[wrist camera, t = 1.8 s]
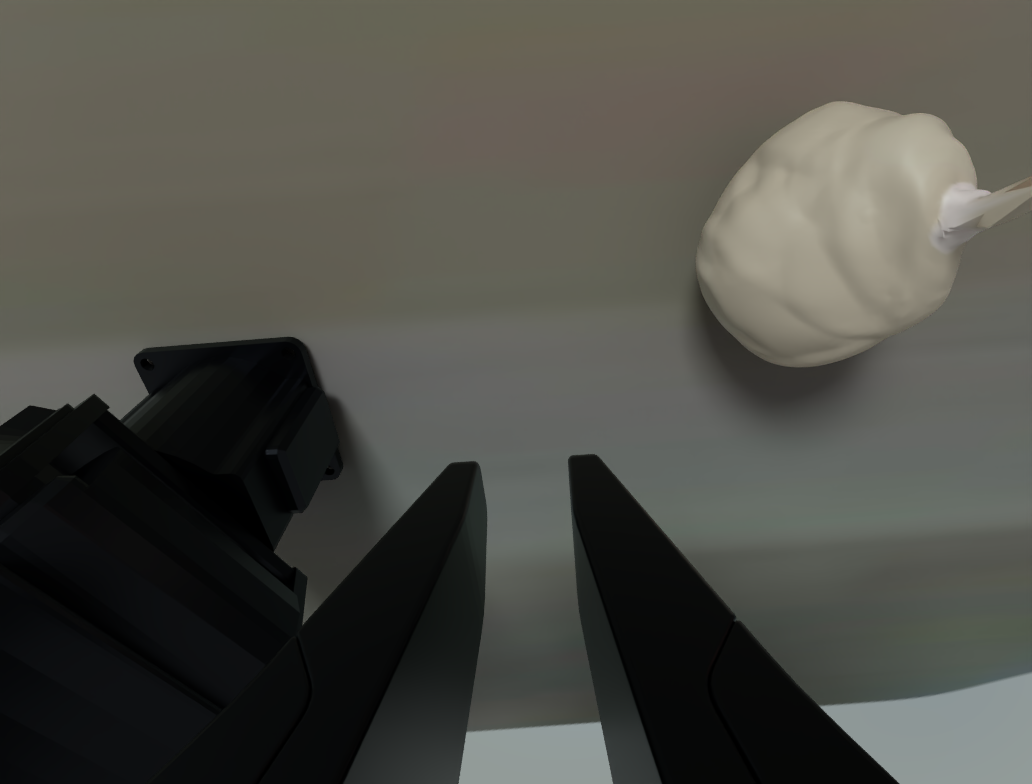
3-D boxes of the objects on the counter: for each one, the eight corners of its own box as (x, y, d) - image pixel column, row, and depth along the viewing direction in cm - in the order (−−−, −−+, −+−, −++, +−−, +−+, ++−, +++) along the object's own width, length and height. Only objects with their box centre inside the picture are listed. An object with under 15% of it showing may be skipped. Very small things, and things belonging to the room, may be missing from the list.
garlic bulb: (897, 260, 19) (1098, 379, 12) (712, 338, 21) (798, 481, 14) (858, 59, 16) (1095, 67, 9) (646, 169, 18) (715, 244, 11)
